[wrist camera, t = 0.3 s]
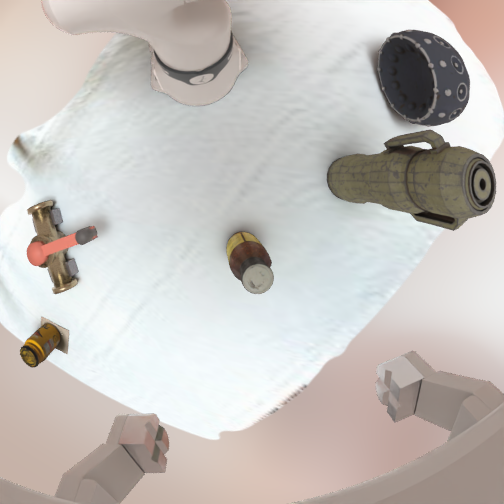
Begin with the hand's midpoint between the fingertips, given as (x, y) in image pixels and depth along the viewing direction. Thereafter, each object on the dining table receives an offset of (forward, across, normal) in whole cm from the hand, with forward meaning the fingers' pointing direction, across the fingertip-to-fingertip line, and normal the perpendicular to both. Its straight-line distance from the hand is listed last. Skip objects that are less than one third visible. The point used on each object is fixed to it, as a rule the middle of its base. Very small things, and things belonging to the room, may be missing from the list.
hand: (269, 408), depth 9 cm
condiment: (+47, +48, +16) cm, 69 cm away
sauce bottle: (+47, -1, +5) cm, 47 cm away
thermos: (+47, -24, -4) cm, 53 cm away
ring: (+47, -41, -23) cm, 66 cm away
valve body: (+47, +37, -4) cm, 60 cm away
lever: (+39, +31, -5) cm, 50 cm away
